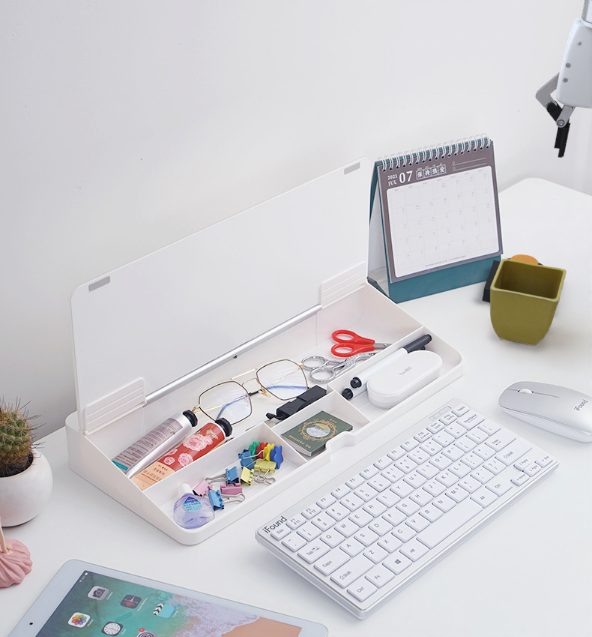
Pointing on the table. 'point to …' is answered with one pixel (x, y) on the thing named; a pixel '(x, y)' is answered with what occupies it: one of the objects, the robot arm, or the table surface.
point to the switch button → (524, 259)
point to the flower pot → (524, 300)
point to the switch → (491, 280)
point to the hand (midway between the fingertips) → (585, 155)
